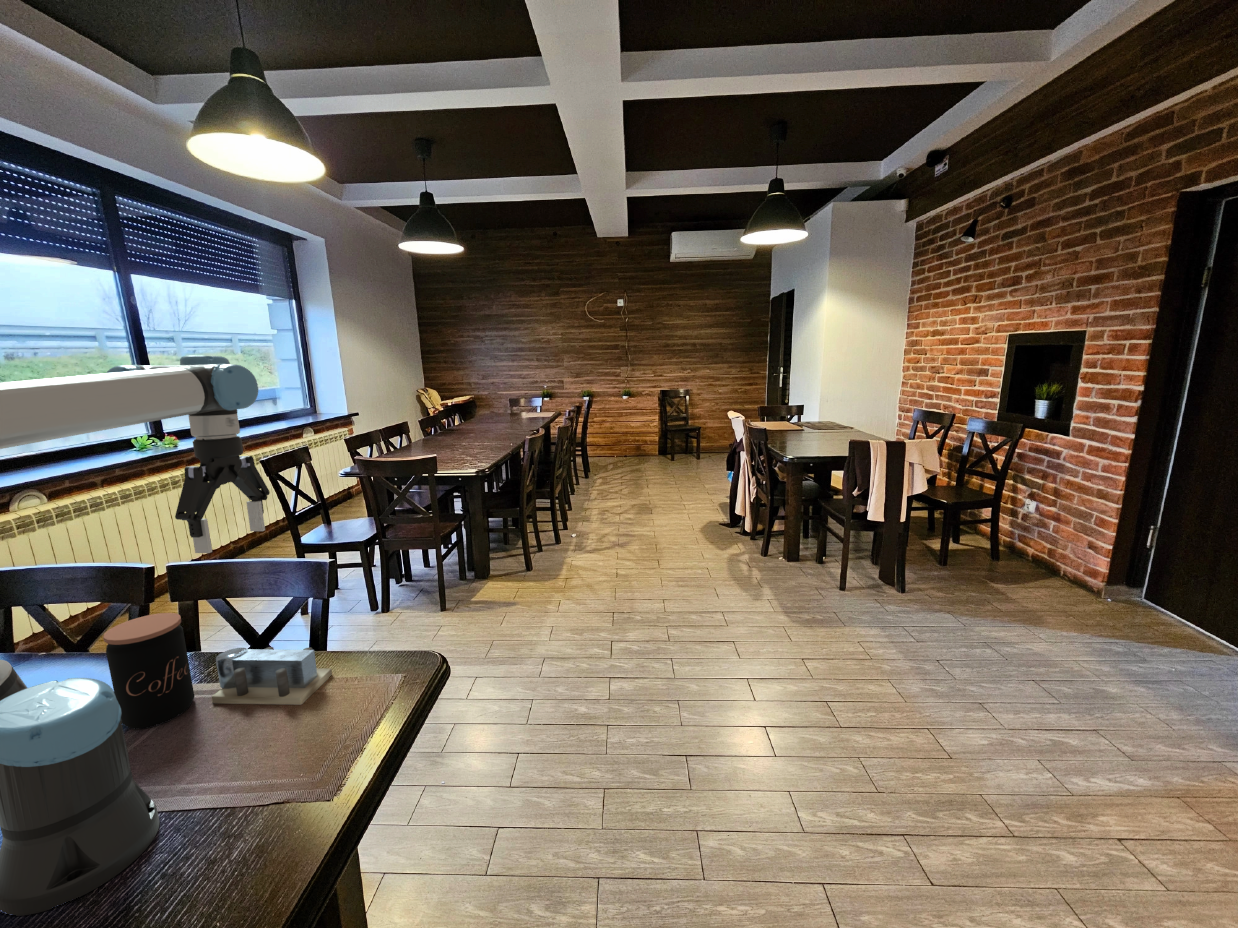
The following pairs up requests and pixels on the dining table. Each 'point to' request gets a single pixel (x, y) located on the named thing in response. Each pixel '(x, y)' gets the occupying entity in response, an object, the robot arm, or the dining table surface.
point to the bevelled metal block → (266, 667)
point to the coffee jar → (149, 669)
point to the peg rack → (270, 689)
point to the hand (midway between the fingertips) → (232, 541)
